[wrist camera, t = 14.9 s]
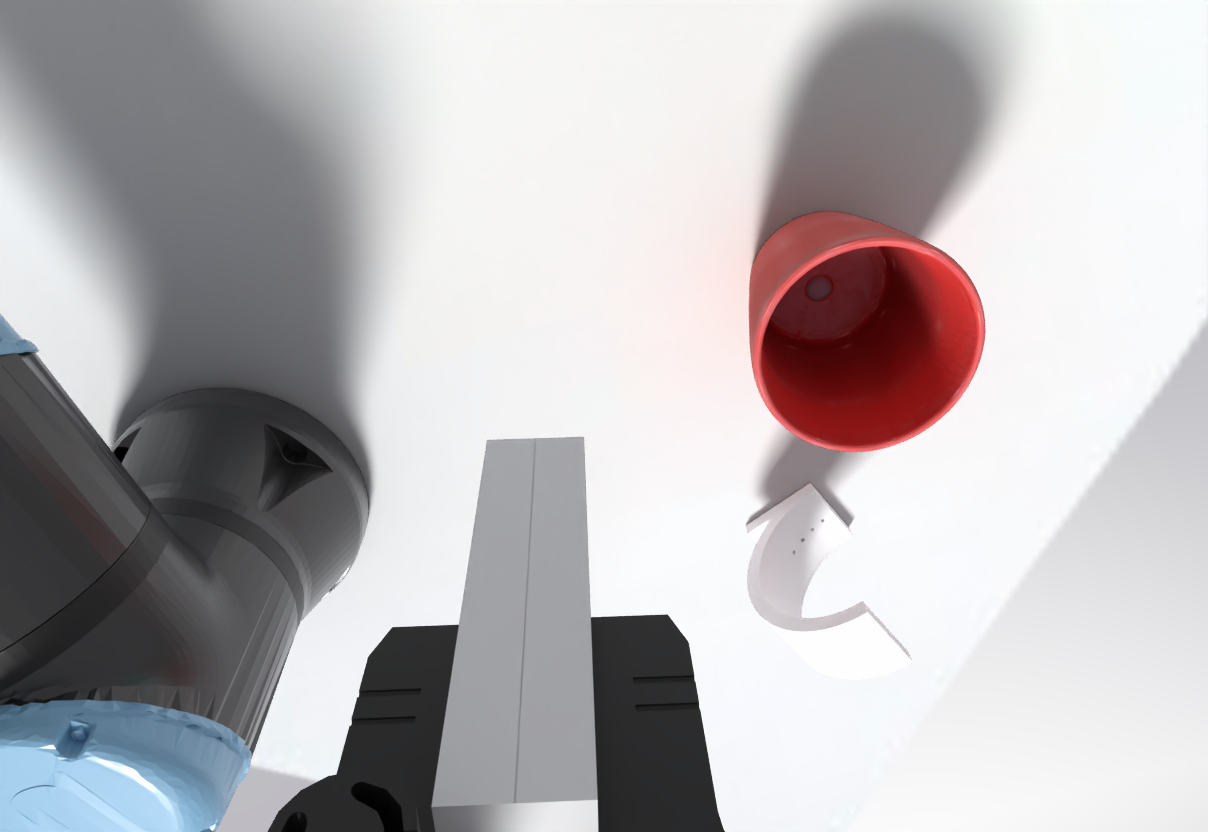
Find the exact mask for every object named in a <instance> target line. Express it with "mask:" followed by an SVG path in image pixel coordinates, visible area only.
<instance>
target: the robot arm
mask: <svg viewBox="0 0 1208 832" xmlns="http://www.w3.org/2000/svg"><path fill="white" fill-rule="evenodd" d="M38 351H39V350H38V349H37V347H36V346H35V345H34V344H33V343H32V342H30V341H28V340H25V339H22V338H21V337H20V336H19V335H18V333H17V332H16V331H15V330H14V329H13V328H12V327H11V326H10V324H9V323H8V322H7V321H6V320H5V319H4V317H3V316H2V315H1V314H0V832H215V831H216V830H217V828H218V826H219V824H220V823H221V821H222V819H223V816H224V814H225V812H226V810H227V808H228V806H229V803H230V801H231V799H232V797H233V795H234V793H235V791H236V788H237V786H238V785H239V784H240V783H241V782H242V781H243V779H244V778H245V776H246V775H247V771H248V769H249V767H250V762H251V758H252V755H253V752H254V750H255V747H256V744H257V741H258V738H259V735H260V733H261V730H262V727H263V724H264V721H265V719H266V716H267V713H268V710H269V707H270V704H271V702H272V699H273V696H274V693H275V690H276V687H277V685H278V682H279V679H280V676H281V673H282V671H283V668H284V665H285V662H286V659H287V656H288V654H289V651H290V648H291V645H292V642H293V639H294V636H295V634H296V631H297V628H298V626H299V624H300V622H301V621H302V620H303V619H304V618H305V616H306V615H307V614H308V613H309V612H310V611H311V610H312V609H313V608H314V607H315V606H316V605H317V604H318V603H319V602H320V601H321V599H323V598H324V597H325V596H326V595H328V594H329V593H330V592H331V591H332V590H333V589H334V588H335V587H336V586H337V585H338V584H339V583H340V582H341V581H342V580H343V579H344V577H345V576H346V575H347V573H348V572H349V570H350V568H351V567H352V565H353V563H354V561H355V559H356V557H357V554H358V551H359V549H360V546H361V543H362V540H363V537H364V534H365V530H366V526H367V521H368V497H367V491H366V487H365V484H364V480H363V478H362V475H361V473H360V470H359V468H358V466H357V464H356V463H355V461H354V459H353V458H352V456H351V455H350V453H349V452H348V450H347V449H346V448H345V446H344V445H343V444H342V443H341V442H340V441H339V439H338V438H337V437H336V436H335V435H334V434H333V433H332V432H331V431H329V430H328V429H327V428H326V427H325V426H324V425H322V424H321V423H320V422H319V421H317V420H316V419H314V418H313V417H312V416H310V415H308V414H307V413H305V412H304V411H302V410H300V409H298V408H296V407H294V406H292V405H290V404H288V403H286V402H283V401H281V400H278V399H276V398H273V397H270V396H267V395H263V394H259V393H256V392H250V391H245V390H238V389H226V388H214V389H201V390H194V391H189V392H185V393H181V394H178V395H175V396H172V397H169V398H167V399H165V400H163V401H160V402H159V403H157V404H155V405H153V406H152V407H150V408H149V409H147V410H146V411H144V412H143V413H142V414H141V415H140V416H138V417H137V418H136V419H135V420H134V421H133V422H132V424H131V425H130V426H129V427H128V428H127V429H126V431H125V432H124V433H123V434H122V435H121V436H120V437H119V439H118V440H117V441H116V442H115V444H114V445H113V446H112V448H111V449H110V448H109V447H108V446H107V445H106V443H105V442H104V441H103V439H102V438H101V437H100V436H99V434H98V433H97V432H96V430H95V429H94V428H93V426H92V425H91V424H90V423H89V421H88V420H87V419H86V417H85V416H84V415H83V414H82V412H81V411H80V410H79V408H78V407H77V406H76V405H75V403H74V402H73V401H72V399H71V398H70V397H69V396H68V394H67V393H66V392H65V390H64V389H63V388H62V386H61V385H60V384H59V383H58V381H57V380H56V379H55V377H54V376H53V375H52V374H51V372H50V371H49V370H48V368H47V367H46V366H45V365H44V363H43V362H42V361H41V359H40V358H39V357H38V356H37V354H36V352H38ZM268 832H725V831H724V829H723V826H722V823H721V820H720V817H719V814H718V810H717V804H716V798H715V793H714V787H713V781H712V775H711V769H710V764H709V758H708V752H707V746H706V741H705V735H704V729H703V723H702V718H701V712H700V709H699V700H698V694H697V689H696V683H695V681H694V671H693V666H692V660H691V654H690V648H689V642H688V641H687V640H686V638H685V637H684V636H683V634H682V633H681V632H680V630H679V629H678V628H677V626H676V625H675V624H674V623H673V621H672V620H671V619H670V617H669V616H668V615H643V616H616V617H591V612H590V585H589V558H588V532H587V505H586V478H585V452H584V437H567V438H535V439H504V440H487V444H486V450H485V457H484V464H483V470H482V477H481V483H480V490H479V497H478V503H477V510H476V516H475V523H474V529H473V536H472V543H471V549H470V556H469V562H468V569H467V576H466V582H465V589H464V595H463V602H462V608H461V615H460V622H459V625H441V626H414V627H392V628H391V630H390V631H389V632H388V633H387V635H386V636H385V637H384V638H383V640H382V641H381V642H380V643H379V644H378V646H377V647H376V648H375V649H374V651H373V652H372V653H371V654H370V655H369V657H368V660H367V664H366V667H365V671H364V675H363V678H362V682H361V686H360V689H359V697H357V701H356V704H355V708H354V712H353V715H352V725H351V726H350V727H349V730H348V734H347V738H346V741H345V745H344V749H343V752H342V756H341V760H340V764H339V767H338V771H337V775H332V776H328V777H326V778H324V779H322V780H320V781H318V782H316V783H314V784H312V785H310V786H309V787H307V788H305V789H303V790H301V791H300V792H299V793H298V794H297V795H296V796H295V797H293V798H292V799H291V800H290V801H289V802H288V803H287V804H286V805H285V806H284V807H283V808H282V809H281V810H280V811H279V812H278V814H277V815H276V817H275V819H274V821H273V823H272V825H271V827H270V828H269V830H268Z"/></svg>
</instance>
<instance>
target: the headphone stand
mask: <svg viewBox="0 0 1208 832" xmlns="http://www.w3.org/2000/svg"><path fill="white" fill-rule="evenodd" d="M746 529H747V532H748V534H749V535H750V536H751V537H752V538H753V540H754V541H755V542H756V545H755V548H754V550H753V553H752V556H751V559H750V563H749V568H748V576H747V584H748V592H749V596H750V599H751V602H752V604H753V606H754V608H755V609H756V611H757V612H758V613H759V615H760V616H761V617H762V618H763V619H764V620H765V621H766V622H767V623H768V624H769V625H770V626H771V627H772V628H773V629H774V630H775V631H776V632H777V633H778V634H779V635H780V636H781V637H782V638H783V639H784V640H785V641H786V642H787V643H788V644H789V645H790V646H791V647H792V648H793V649H794V650H795V651H796V652H797V653H798V654H799V655H800V656H801V657H802V658H803V659H804V660H805V661H806V662H807V663H808V664H809V665H810V666H812V667H813V668H815V669H816V670H818V671H820V672H822V673H824V674H827V675H830V676H833V677H838V678H845V679H863V678H871V677H876V676H880V675H884V674H887V673H890V672H893V671H895V670H898V669H900V668H902V667H904V666H906V665H908V664H910V663H912V660H911V657H910V655H909V653H908V651H907V650H906V649H905V648H904V647H903V645H902V644H901V643H900V642H899V641H898V640H897V639H896V638H895V637H894V636H893V634H892V633H891V632H890V631H889V630H888V629H887V628H886V627H885V626H884V624H883V623H882V622H881V621H880V620H879V619H878V618H877V617H876V616H875V614H874V613H873V612H872V611H871V610H870V609H869V608H868V607H867V606H866V605H865V603H864V602H863V601H862V602H860V603H859V604H857V605H855V606H853V607H851V608H849V609H847V610H844V611H842V612H839V613H836V614H833V615H829V616H825V617H819V618H802V617H801V613H802V604H803V599H804V596H805V592H806V590H807V587H808V585H809V583H810V581H811V579H812V577H813V575H814V573H815V572H816V570H817V569H818V567H819V566H820V565H821V563H822V562H823V561H824V560H825V559H826V557H827V556H828V555H829V554H830V553H831V552H832V551H833V550H834V549H835V548H836V547H838V546H839V545H840V544H841V543H842V542H844V541H845V540H846V539H848V538H849V537H851V536H852V533H851V531H850V528H849V527H848V526H847V525H846V523H845V522H844V521H843V520H842V519H841V518H840V517H839V515H838V514H837V513H836V512H835V511H834V510H833V508H832V507H831V506H830V505H829V504H828V503H827V502H826V500H825V499H824V498H823V497H822V496H821V495H820V493H819V492H818V491H817V490H816V489H815V488H814V487H813V485H812V484H811V483H809V484H807V485H806V486H804V487H803V488H801V489H800V490H798V491H797V492H795V493H794V494H792V495H791V496H789V497H788V498H786V499H785V500H783V501H782V502H780V503H779V504H777V505H776V506H774V507H773V508H771V509H770V510H768V511H767V512H765V513H764V514H762V515H761V516H759V517H758V518H756V519H755V520H753V521H752V522H750V523H749V524H747V525H746Z"/></svg>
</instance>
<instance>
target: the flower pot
mask: <svg viewBox="0 0 1208 832" xmlns="http://www.w3.org/2000/svg"><path fill="white" fill-rule="evenodd" d="M749 335H750V352H751V361H752V368H753V373H754V378H755V381H756V385H757V388H758V390H759V393H760V395H761V397H762V399H763V401H764V403H765V405H766V406H767V408H768V409H769V411H770V412H771V413H772V415H773V416H774V417H775V418H776V419H777V420H778V421H779V422H780V423H781V424H782V425H783V426H784V427H785V428H786V429H788V430H789V431H790V432H792V433H793V434H794V435H796V436H797V437H799V438H801V439H803V440H805V441H807V442H809V443H812V444H814V445H817V446H820V447H823V448H827V449H832V450H838V451H848V452H865V451H873V450H878V449H883V448H887V447H890V446H893V445H896V444H899V443H901V442H904V441H906V440H908V439H911V438H913V437H914V436H916V435H918V434H920V433H922V432H923V431H925V430H926V429H928V428H929V427H931V426H932V425H933V424H935V423H936V422H937V421H938V420H939V419H941V418H942V417H943V416H944V415H945V414H946V413H947V412H948V411H949V410H950V409H951V408H952V407H953V406H954V405H955V404H956V403H957V401H958V400H959V399H960V398H961V396H962V395H963V393H964V392H965V391H966V389H967V387H968V386H969V384H970V382H971V380H972V378H973V376H974V374H975V372H976V370H977V367H978V365H979V362H980V359H981V355H982V351H983V346H984V340H985V318H984V311H983V307H982V303H981V300H980V297H979V294H978V292H977V290H976V288H975V286H974V284H973V282H972V281H971V279H970V278H969V276H968V275H967V273H966V272H965V271H964V270H963V268H962V267H961V266H960V265H959V264H958V263H957V262H956V261H955V260H954V259H953V258H951V257H950V256H949V255H947V254H946V253H945V252H943V251H942V250H940V249H938V248H936V247H935V246H933V245H931V244H929V243H927V242H925V241H923V240H920V239H918V238H916V237H913V236H911V235H909V234H906V233H904V232H902V231H899V230H896V229H894V228H891V227H889V226H886V225H883V224H881V223H878V222H875V221H872V220H869V219H865V218H862V217H858V216H855V215H852V214H849V213H844V212H838V211H820V212H814V213H810V214H806V215H803V216H801V217H798V218H796V219H794V220H792V221H790V222H788V223H787V224H785V225H784V226H782V227H781V228H780V229H778V230H777V231H776V232H775V233H774V234H772V235H771V236H770V238H769V239H768V240H767V241H766V242H765V244H764V245H763V246H762V248H761V250H760V251H759V253H758V255H757V257H756V259H755V261H754V264H753V267H752V271H751V276H750V286H749Z"/></svg>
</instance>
